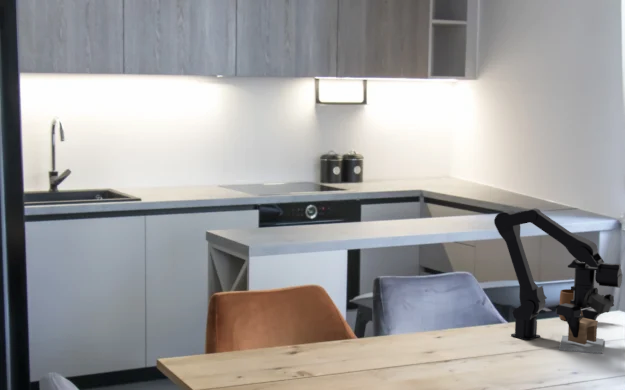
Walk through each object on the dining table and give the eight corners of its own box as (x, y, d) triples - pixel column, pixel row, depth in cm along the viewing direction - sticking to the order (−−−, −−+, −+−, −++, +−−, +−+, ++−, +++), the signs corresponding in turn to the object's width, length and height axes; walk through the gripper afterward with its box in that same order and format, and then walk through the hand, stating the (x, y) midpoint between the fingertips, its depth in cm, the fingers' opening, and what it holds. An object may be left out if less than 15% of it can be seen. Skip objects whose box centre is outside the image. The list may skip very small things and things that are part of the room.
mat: (602, 353, 264) (602, 352, 264) (559, 349, 268) (559, 348, 268) (603, 340, 280) (603, 338, 280) (562, 336, 283) (562, 335, 283)
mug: (594, 317, 309) (595, 289, 308) (598, 323, 301) (599, 294, 300) (557, 316, 310) (558, 288, 309) (560, 321, 303) (561, 293, 302)
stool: (584, 344, 270) (585, 323, 269) (567, 340, 274) (568, 319, 274) (596, 341, 273) (597, 320, 273) (579, 337, 278) (580, 317, 277)
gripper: (588, 292, 260) (586, 346, 262) (626, 284, 271) (624, 336, 273) (555, 285, 269) (553, 338, 270) (594, 278, 280) (591, 329, 282)
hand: (582, 335), depth 274 cm, fingers closed on stool, 6 cm apart
